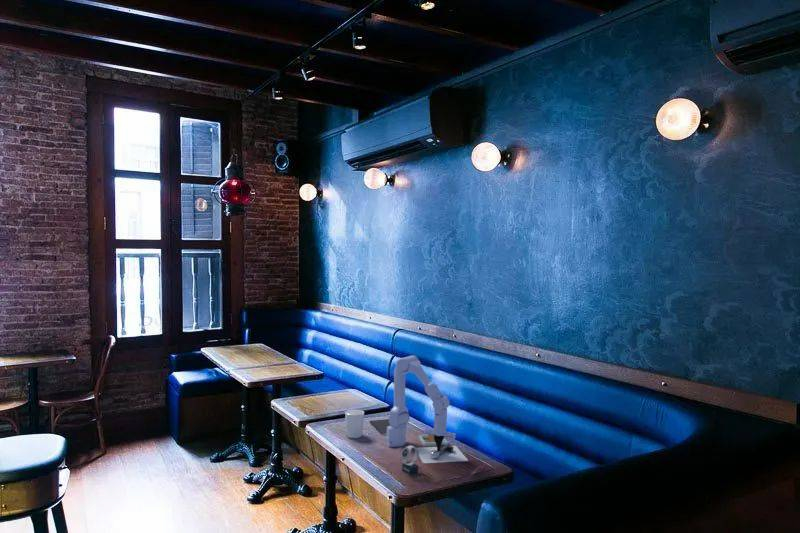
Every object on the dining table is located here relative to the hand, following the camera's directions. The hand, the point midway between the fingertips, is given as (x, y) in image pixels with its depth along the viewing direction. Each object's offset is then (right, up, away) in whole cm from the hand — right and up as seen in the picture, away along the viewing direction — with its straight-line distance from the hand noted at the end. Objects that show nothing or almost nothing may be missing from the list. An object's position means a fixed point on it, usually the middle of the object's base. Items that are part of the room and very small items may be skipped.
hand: (438, 451), depth 253 cm
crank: (+1, -1, -2) cm, 2 cm away
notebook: (-25, -1, +39) cm, 46 cm away
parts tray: (-2, -2, +16) cm, 16 cm away
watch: (-14, -3, -19) cm, 24 cm away
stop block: (-2, -1, +16) cm, 16 cm away
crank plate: (+1, -2, -1) cm, 2 cm away
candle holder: (-42, -1, +25) cm, 48 cm away
